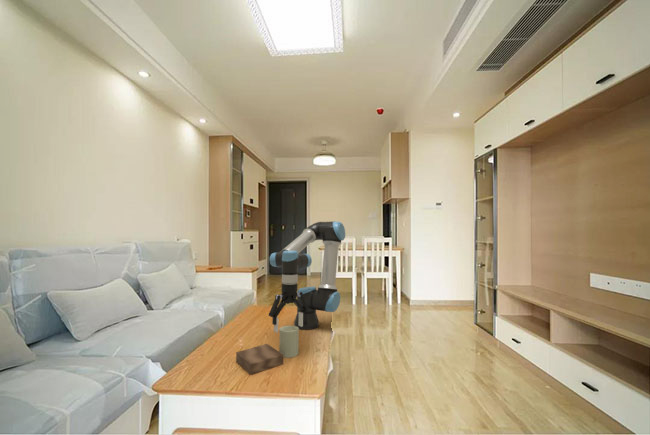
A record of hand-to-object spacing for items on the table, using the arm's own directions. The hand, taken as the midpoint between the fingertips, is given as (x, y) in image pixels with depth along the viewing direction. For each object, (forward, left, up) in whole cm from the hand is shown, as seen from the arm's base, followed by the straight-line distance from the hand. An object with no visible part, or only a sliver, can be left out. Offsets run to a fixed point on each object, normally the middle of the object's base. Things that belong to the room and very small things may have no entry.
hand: (288, 328), depth 132 cm
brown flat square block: (+15, 0, -11) cm, 19 cm away
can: (0, 0, -12) cm, 12 cm away
